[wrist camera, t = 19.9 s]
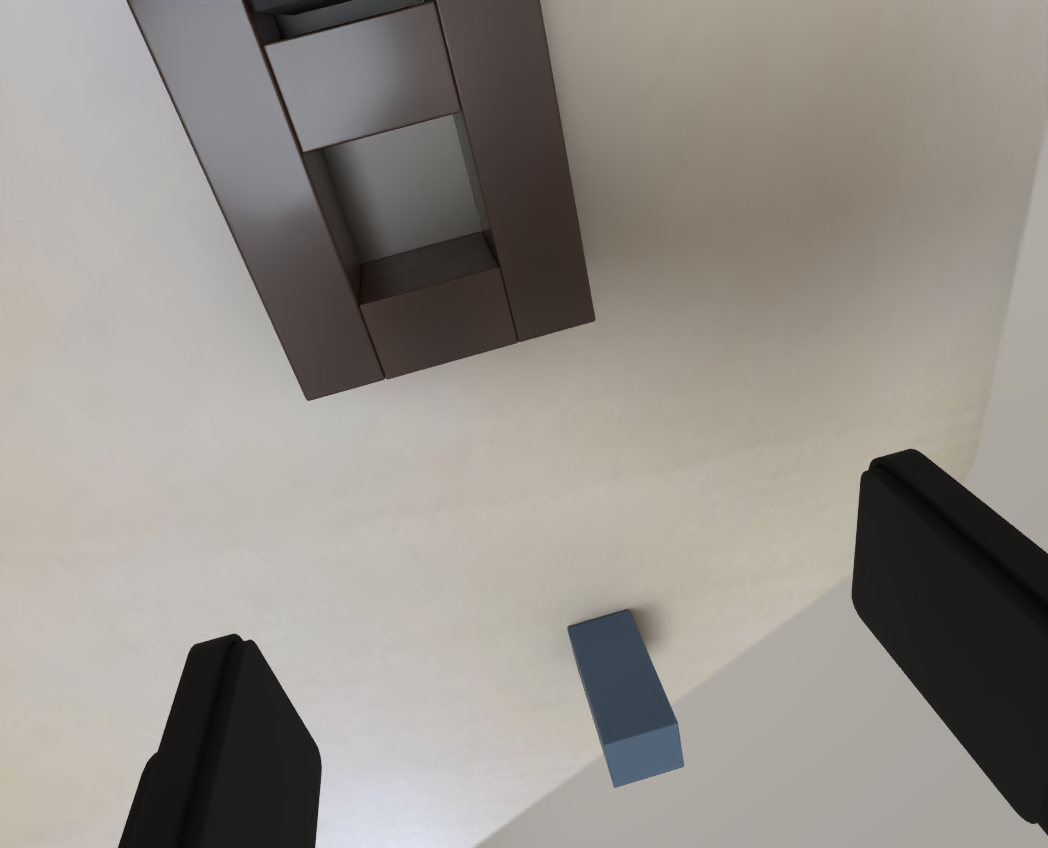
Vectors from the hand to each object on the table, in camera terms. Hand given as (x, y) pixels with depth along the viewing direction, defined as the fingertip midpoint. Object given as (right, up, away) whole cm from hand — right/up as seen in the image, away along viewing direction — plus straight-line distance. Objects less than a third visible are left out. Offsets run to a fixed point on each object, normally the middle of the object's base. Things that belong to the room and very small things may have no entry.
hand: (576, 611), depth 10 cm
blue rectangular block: (+3, -8, +24) cm, 26 cm away
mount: (-5, +13, +10) cm, 17 cm away
